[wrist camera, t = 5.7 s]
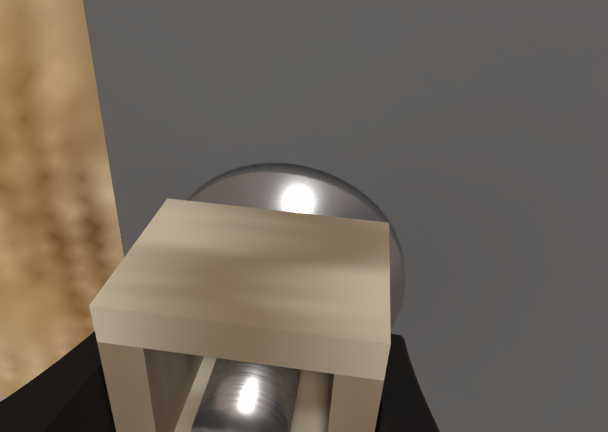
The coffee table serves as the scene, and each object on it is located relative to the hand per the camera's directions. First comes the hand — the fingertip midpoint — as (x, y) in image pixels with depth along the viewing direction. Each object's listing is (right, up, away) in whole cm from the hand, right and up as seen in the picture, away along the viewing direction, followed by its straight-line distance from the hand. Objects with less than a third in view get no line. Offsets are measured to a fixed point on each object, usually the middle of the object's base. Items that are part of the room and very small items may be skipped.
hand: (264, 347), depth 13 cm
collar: (0, +1, +1) cm, 2 cm away
